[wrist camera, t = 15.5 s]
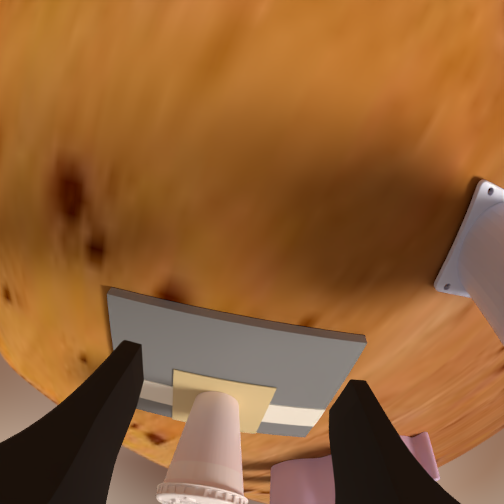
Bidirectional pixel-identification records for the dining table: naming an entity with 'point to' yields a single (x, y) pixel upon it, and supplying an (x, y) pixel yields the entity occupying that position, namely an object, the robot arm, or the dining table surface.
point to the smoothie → (207, 455)
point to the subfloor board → (233, 362)
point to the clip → (331, 475)
